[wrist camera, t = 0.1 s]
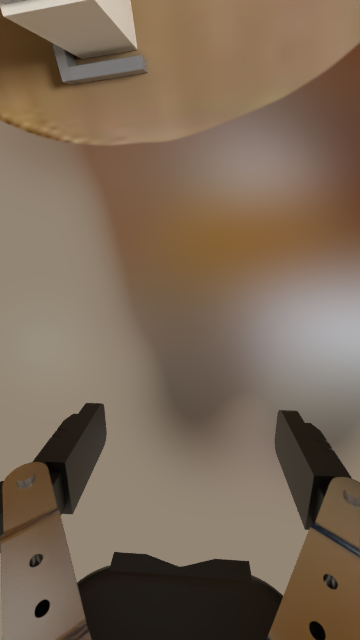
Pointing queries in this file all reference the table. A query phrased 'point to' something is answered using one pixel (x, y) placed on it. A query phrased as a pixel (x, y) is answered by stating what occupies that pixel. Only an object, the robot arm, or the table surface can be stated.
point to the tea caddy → (77, 24)
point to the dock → (96, 68)
